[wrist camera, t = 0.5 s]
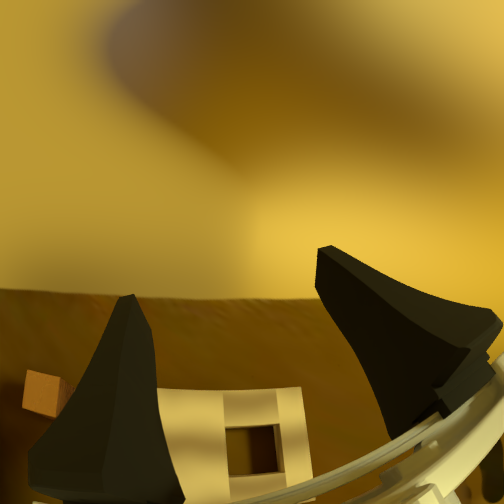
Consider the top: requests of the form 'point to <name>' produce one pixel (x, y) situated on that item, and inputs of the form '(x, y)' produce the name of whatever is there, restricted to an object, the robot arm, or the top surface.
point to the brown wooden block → (45, 394)
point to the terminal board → (214, 442)
